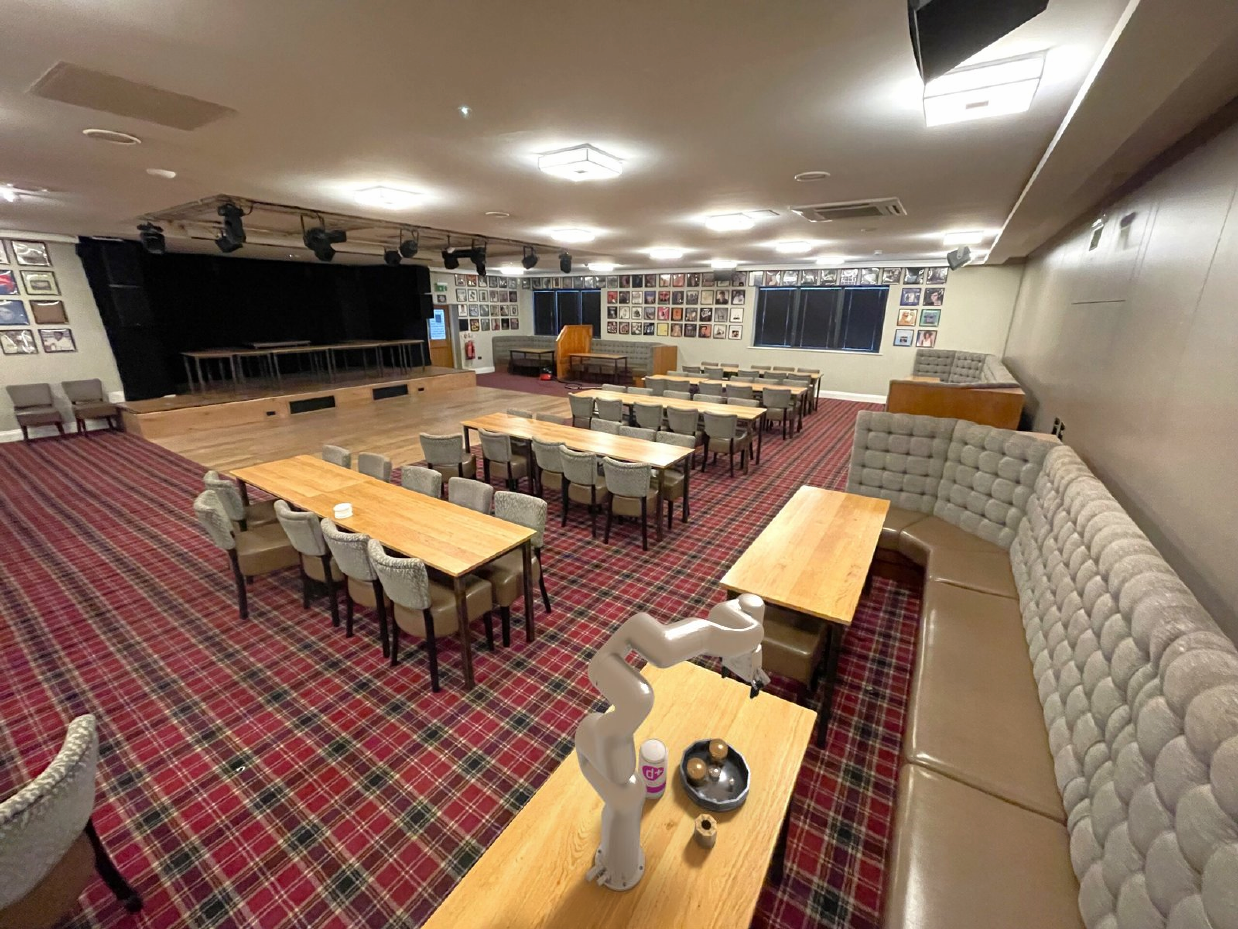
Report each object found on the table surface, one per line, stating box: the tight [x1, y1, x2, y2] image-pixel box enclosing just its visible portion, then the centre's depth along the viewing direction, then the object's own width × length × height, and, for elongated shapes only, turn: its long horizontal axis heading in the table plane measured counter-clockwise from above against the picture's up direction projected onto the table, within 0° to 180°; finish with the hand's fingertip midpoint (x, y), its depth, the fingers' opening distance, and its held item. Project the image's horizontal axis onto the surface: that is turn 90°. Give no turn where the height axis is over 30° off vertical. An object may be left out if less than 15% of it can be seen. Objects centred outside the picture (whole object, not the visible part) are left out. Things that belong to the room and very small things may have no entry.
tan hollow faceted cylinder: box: [693, 813, 718, 850], centre depth 129 cm, size 5×5×5 cm
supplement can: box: [637, 737, 669, 800], centre depth 140 cm, size 8×8×15 cm
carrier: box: [678, 738, 752, 813], centre depth 145 cm, size 20×20×6 cm
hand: (739, 686), depth 140 cm, fingers open, 9 cm apart
